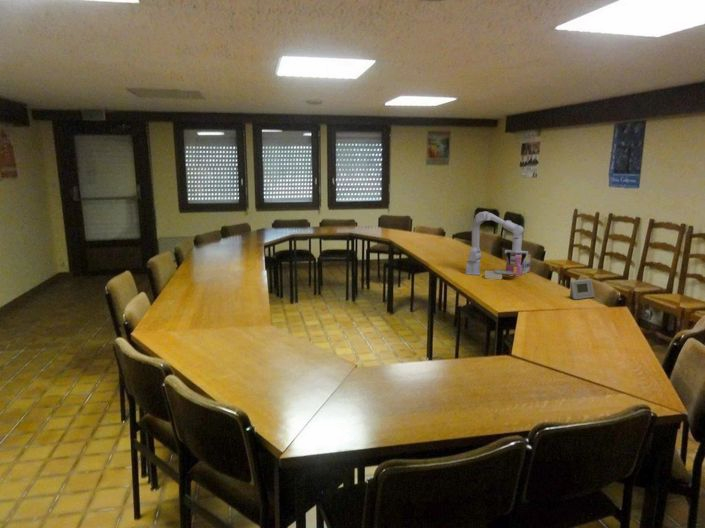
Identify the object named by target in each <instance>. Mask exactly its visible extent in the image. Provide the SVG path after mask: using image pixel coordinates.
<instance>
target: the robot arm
mask: <svg viewBox="0 0 705 528" xmlns="http://www.w3.org/2000/svg"><path fill="white" fill-rule="evenodd" d="M486 221H493V222H495V223H496V224H499V225H501V226H502V228H503V229H505V230H507V231H508V232H511V233H512V235H513V236H512V244H511V246H512V247H511V249H505V250H504V254H506V258H507V257H508V261H509V264H510V255H511V254H512V255H514V254H522V259H521V265H522V263H523V260H524V259H525V257H526V255H528V254H529V251H528V250H522V244H523V233H524V231H525V230H524V227H523V226H522V225H518V224H517V223H515V222H512V220H510V219H507V220H505V219H502V218H500V217H499V216H497V215H496V214H494V213H491V212H490V211H486V210H485V211H480V212H478V213H476V214H475V216H474V218H473V220H472V222H471V248H470V251H469V254H468V259H469V260H466V265H465V275H473V276H480V275H481V272H480V268H481V259H482V257H483V254H482V253H481V248H480V235H481V234H480V233H481V232H480V231H481V228H480V227H481V224H483V223H484V222H486Z"/></svg>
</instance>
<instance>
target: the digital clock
mask: <svg viewBox="0 0 705 528" xmlns="http://www.w3.org/2000/svg"><path fill="white" fill-rule="evenodd" d="M592 281H593V280H592V279H591V278H583V279H582V278H581V279H575V280H570V281H569V287H570V292H569V297H570V298H571V299H573V300H578V301H579V300H586V299H591V298H594V297H595V291H594V286H593V282H592Z"/></svg>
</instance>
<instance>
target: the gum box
mask: <svg viewBox="0 0 705 528" xmlns="http://www.w3.org/2000/svg"><path fill="white" fill-rule="evenodd" d="M521 259H522V254H510V264H509V261H508V257H507V256H506V265H505V271H513V268H514V267H517V274H513V276H517V275H520V276H522V275H521V274H523V275H525V274H524V273H526V274H528V273H527V272H529V273H530V272H531V263H532V253H528V255H526V257H525V259H524V260H523V263H522V265H521ZM508 275H512V274H507V275H506V276H508ZM513 276H512V277H513ZM517 277H518V276H517Z"/></svg>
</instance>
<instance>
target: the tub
mask: <svg viewBox="0 0 705 528" xmlns="http://www.w3.org/2000/svg"><path fill="white" fill-rule="evenodd" d="M485 278H490V279H489V280H495V279H502V280H503V274H498V273H495V270H485V272H484V279H485Z"/></svg>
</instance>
